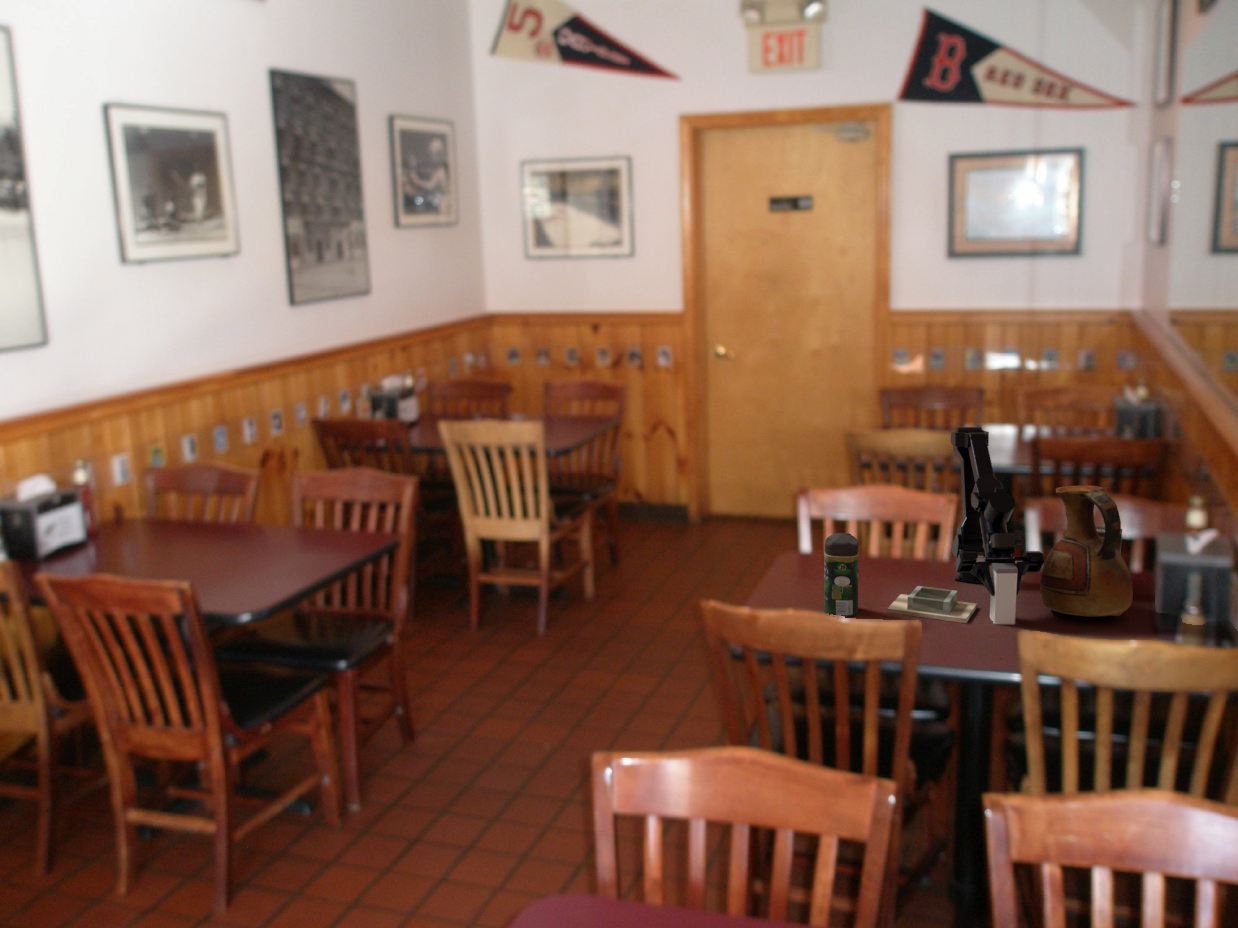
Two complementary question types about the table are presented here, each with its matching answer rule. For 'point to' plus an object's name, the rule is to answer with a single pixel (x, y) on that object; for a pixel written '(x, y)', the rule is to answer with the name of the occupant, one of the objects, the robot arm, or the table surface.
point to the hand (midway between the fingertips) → (1005, 595)
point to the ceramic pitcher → (1087, 559)
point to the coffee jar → (841, 575)
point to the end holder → (933, 605)
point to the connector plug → (1003, 593)
